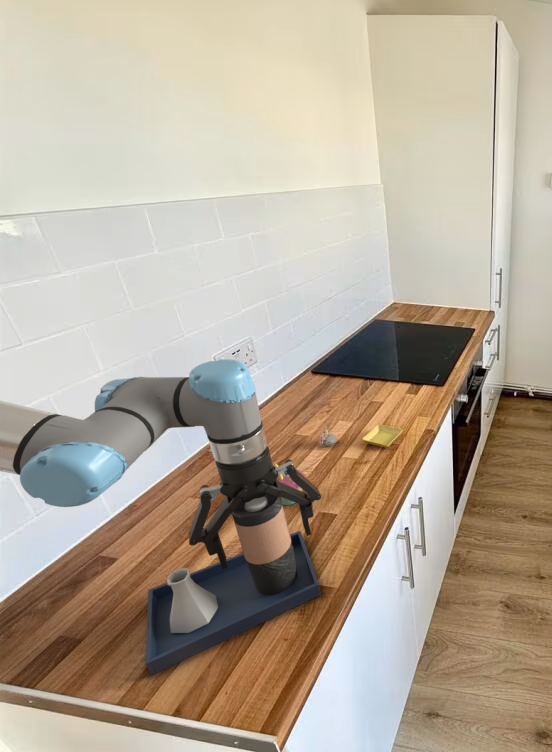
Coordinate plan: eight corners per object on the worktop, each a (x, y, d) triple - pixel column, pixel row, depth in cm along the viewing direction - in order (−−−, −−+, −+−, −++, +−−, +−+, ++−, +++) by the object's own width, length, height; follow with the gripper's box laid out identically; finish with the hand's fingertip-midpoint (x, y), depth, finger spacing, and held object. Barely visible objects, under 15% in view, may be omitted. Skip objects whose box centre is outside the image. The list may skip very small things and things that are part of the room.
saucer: (361, 445, 123) (360, 439, 122) (378, 429, 130) (378, 423, 129) (388, 451, 120) (387, 445, 120) (404, 435, 128) (403, 429, 127)
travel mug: (299, 557, 87) (281, 481, 79) (297, 590, 81) (278, 510, 72) (257, 568, 85) (233, 489, 76) (251, 602, 78) (225, 521, 70)
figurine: (340, 443, 123) (338, 425, 120) (328, 451, 119) (325, 433, 117) (326, 437, 125) (323, 420, 122) (314, 446, 121) (311, 428, 118)
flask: (176, 602, 78) (159, 563, 73) (222, 591, 80) (209, 553, 76) (163, 640, 72) (143, 601, 67) (213, 627, 74) (198, 588, 70)
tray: (151, 675, 67) (145, 664, 66) (153, 600, 78) (148, 589, 77) (321, 594, 81) (318, 584, 80) (302, 540, 92) (300, 530, 91)
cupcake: (295, 513, 98) (286, 472, 93) (261, 508, 99) (250, 466, 94) (316, 488, 106) (309, 448, 101) (285, 483, 107) (275, 443, 102)
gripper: (142, 494, 60) (185, 595, 70) (328, 440, 74) (343, 530, 83) (144, 465, 66) (184, 562, 75) (317, 419, 79) (332, 506, 88)
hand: (267, 546), depth 79 cm, fingers open, 13 cm apart
